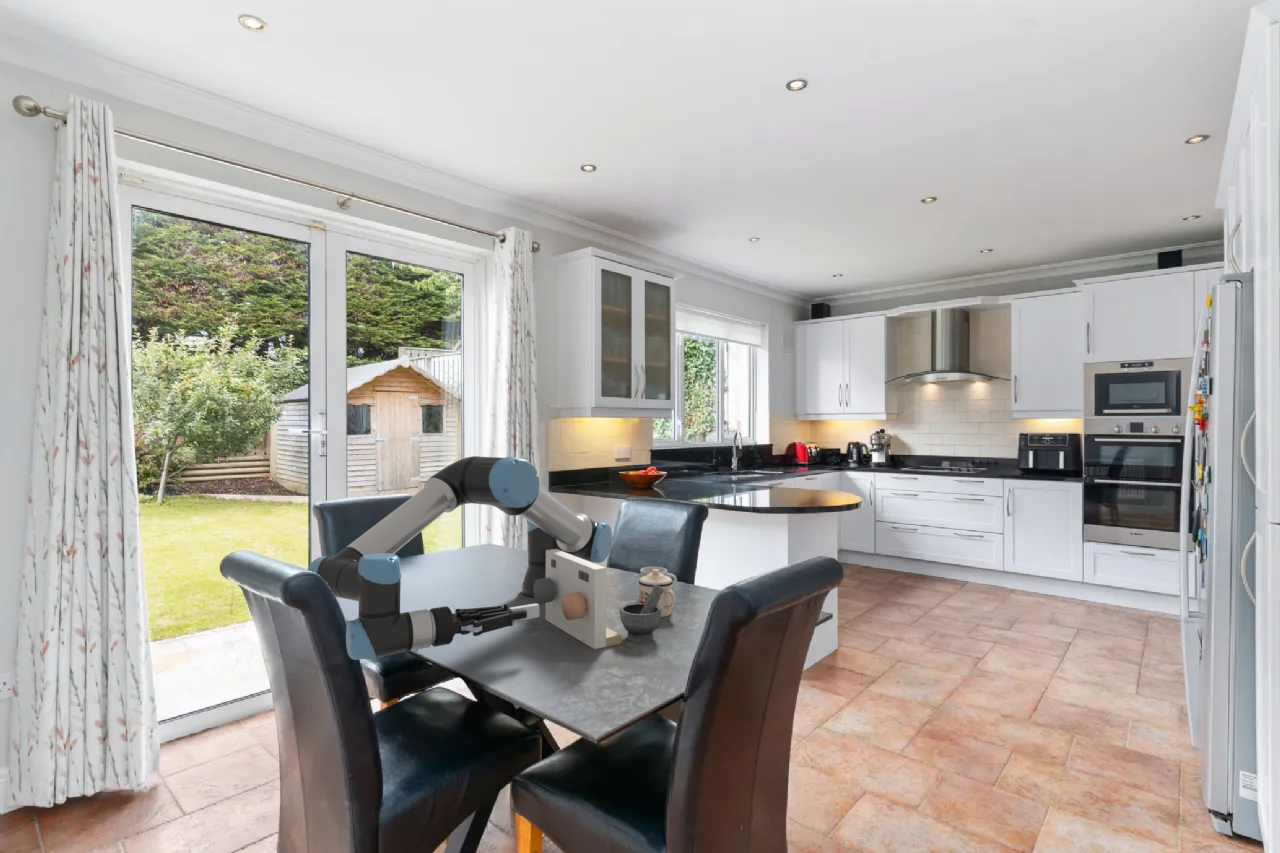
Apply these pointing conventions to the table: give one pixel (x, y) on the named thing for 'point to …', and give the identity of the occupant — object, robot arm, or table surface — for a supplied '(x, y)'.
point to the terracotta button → (573, 605)
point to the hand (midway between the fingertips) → (537, 610)
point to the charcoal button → (544, 590)
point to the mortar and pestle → (642, 617)
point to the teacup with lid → (666, 597)
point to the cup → (663, 571)
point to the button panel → (592, 585)
